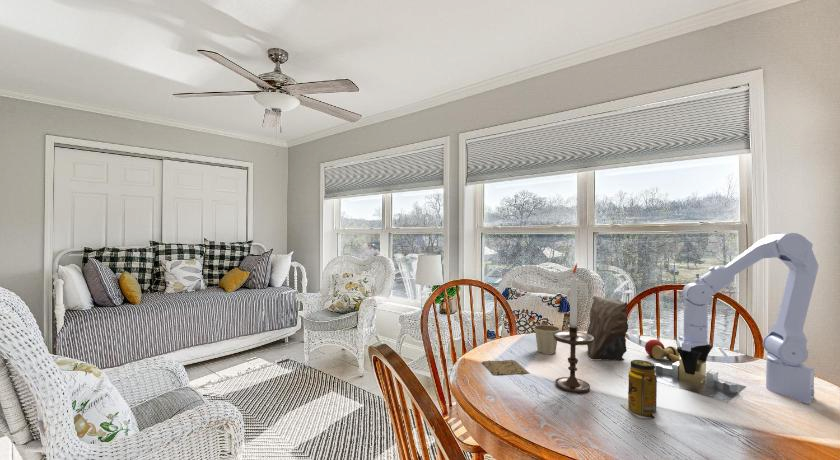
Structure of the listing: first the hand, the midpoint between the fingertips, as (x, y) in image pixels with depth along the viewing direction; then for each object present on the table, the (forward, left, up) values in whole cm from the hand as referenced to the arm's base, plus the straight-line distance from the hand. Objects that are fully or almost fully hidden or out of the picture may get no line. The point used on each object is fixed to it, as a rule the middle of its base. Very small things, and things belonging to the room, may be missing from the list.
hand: (694, 370), depth 114 cm
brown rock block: (+28, -1, -4) cm, 29 cm away
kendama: (+11, -13, -4) cm, 18 cm away
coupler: (+1, 0, -3) cm, 3 cm away
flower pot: (+42, +11, -4) cm, 44 cm away
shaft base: (0, +2, -3) cm, 4 cm away
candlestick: (+20, +32, -4) cm, 38 cm away
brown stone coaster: (+40, +36, -4) cm, 54 cm away
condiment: (0, +31, -4) cm, 31 cm away
